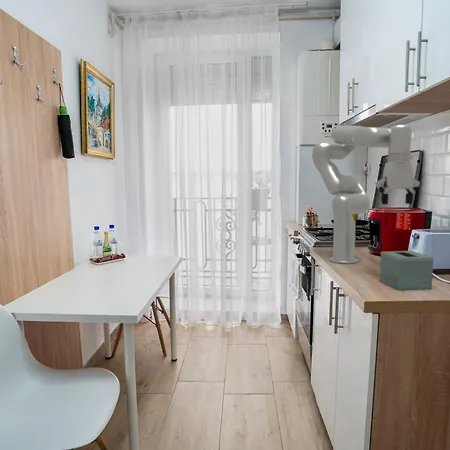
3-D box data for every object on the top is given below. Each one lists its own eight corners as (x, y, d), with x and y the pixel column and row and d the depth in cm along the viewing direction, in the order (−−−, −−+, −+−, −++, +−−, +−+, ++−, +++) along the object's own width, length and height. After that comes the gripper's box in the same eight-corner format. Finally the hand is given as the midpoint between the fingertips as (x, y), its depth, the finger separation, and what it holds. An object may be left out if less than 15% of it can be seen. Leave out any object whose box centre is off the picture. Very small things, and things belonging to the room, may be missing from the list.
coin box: (379, 280, 131) (380, 251, 130) (410, 279, 132) (411, 250, 131) (398, 290, 119) (399, 258, 118) (431, 288, 120) (433, 257, 119)
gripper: (414, 159, 137) (411, 203, 139) (372, 159, 135) (370, 203, 137) (426, 158, 129) (424, 204, 131) (382, 158, 128) (380, 204, 130)
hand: (396, 203), depth 134 cm, fingers open, 9 cm apart
